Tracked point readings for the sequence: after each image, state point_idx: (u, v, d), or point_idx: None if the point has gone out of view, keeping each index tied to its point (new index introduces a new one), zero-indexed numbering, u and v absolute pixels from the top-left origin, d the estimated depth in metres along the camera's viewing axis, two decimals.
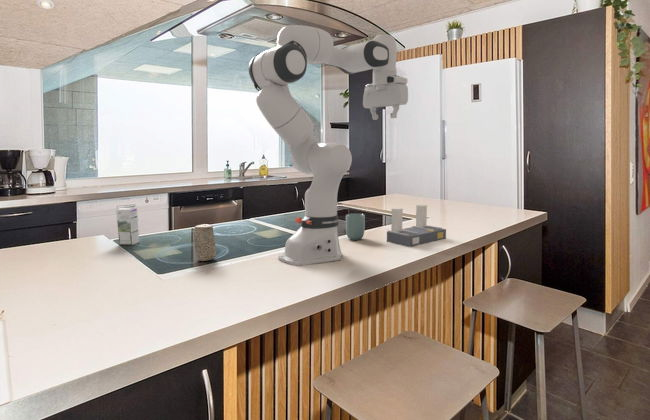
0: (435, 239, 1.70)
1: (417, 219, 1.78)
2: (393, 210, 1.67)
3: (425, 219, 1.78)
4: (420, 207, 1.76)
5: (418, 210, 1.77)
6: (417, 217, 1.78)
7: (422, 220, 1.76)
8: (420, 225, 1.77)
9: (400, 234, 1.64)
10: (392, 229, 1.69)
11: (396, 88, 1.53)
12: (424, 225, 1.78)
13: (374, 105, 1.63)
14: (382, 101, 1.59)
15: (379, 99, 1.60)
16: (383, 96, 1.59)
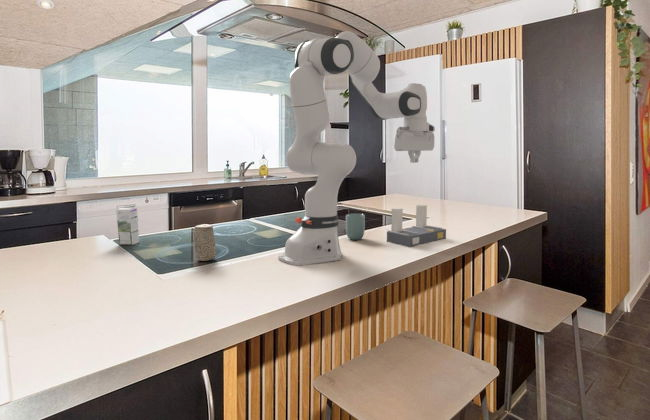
0: (435, 239, 1.70)
1: (417, 219, 1.78)
2: (393, 210, 1.67)
3: (425, 219, 1.78)
4: (420, 207, 1.76)
5: (418, 210, 1.77)
6: (417, 217, 1.78)
7: (422, 220, 1.76)
8: (420, 225, 1.77)
9: (400, 234, 1.64)
10: (392, 229, 1.69)
11: (431, 136, 1.71)
12: (424, 225, 1.78)
13: (412, 149, 1.65)
14: (419, 146, 1.67)
15: (417, 144, 1.66)
16: (420, 141, 1.67)
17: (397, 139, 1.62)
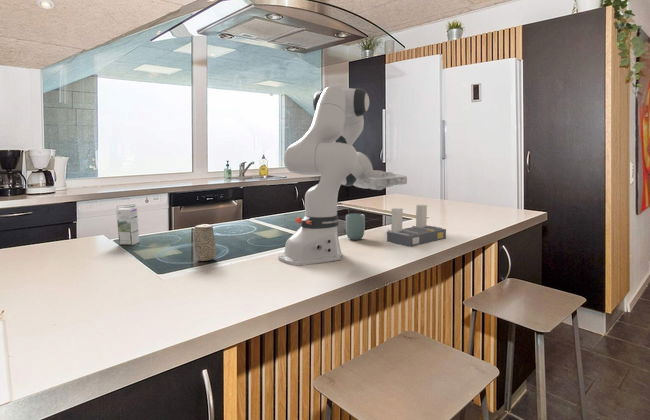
0: (435, 239, 1.70)
1: (417, 219, 1.78)
2: (393, 210, 1.67)
3: (425, 219, 1.78)
4: (420, 207, 1.76)
5: (418, 210, 1.77)
6: (417, 217, 1.78)
7: (422, 220, 1.76)
8: (420, 225, 1.77)
9: (400, 234, 1.64)
10: (392, 229, 1.69)
11: (395, 174, 1.97)
12: (424, 225, 1.78)
13: (386, 177, 1.87)
14: (391, 177, 1.90)
15: None
16: None
17: (370, 182, 1.86)
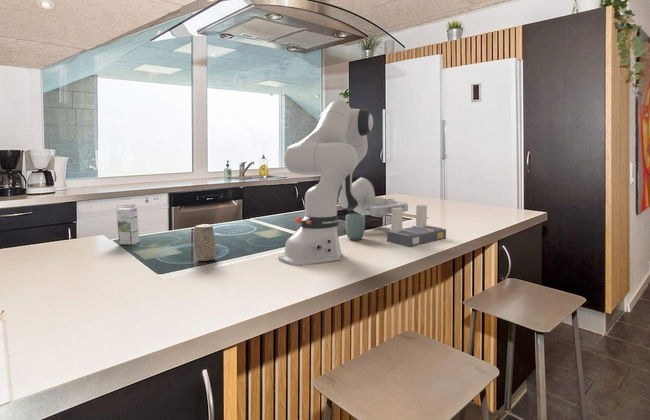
0: (435, 239, 1.70)
1: (417, 219, 1.78)
2: (393, 210, 1.67)
3: (425, 219, 1.78)
4: (420, 207, 1.76)
5: (418, 210, 1.77)
6: (417, 217, 1.78)
7: (422, 220, 1.76)
8: (420, 225, 1.77)
9: (400, 234, 1.64)
10: (392, 229, 1.69)
11: (396, 201, 1.98)
12: (424, 225, 1.78)
13: (388, 206, 1.88)
14: (392, 204, 1.91)
15: None
16: (390, 204, 1.93)
17: (371, 210, 1.87)
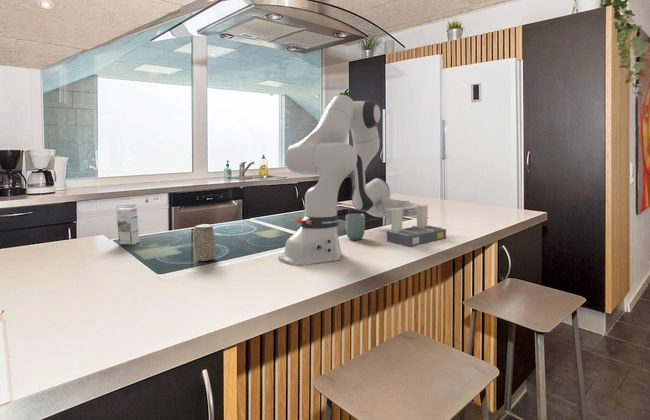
0: (435, 239, 1.70)
1: (418, 219, 1.78)
2: (393, 210, 1.67)
3: (426, 219, 1.77)
4: (421, 207, 1.76)
5: (419, 210, 1.77)
6: (418, 217, 1.77)
7: (423, 220, 1.76)
8: (421, 225, 1.76)
9: (400, 234, 1.64)
10: (392, 229, 1.69)
11: (412, 203, 1.91)
12: (425, 225, 1.77)
13: (404, 208, 1.80)
14: (408, 207, 1.84)
15: (404, 207, 1.83)
16: (406, 206, 1.85)
17: (387, 213, 1.80)
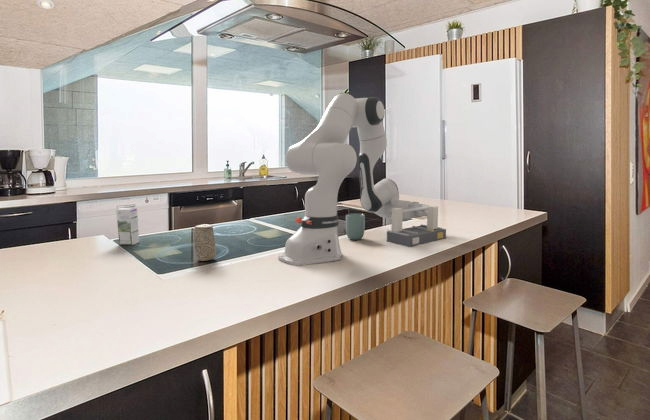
0: (435, 239, 1.70)
1: (428, 221, 1.73)
2: (393, 210, 1.67)
3: (436, 221, 1.73)
4: (431, 208, 1.72)
5: (429, 212, 1.73)
6: (428, 219, 1.73)
7: (433, 222, 1.72)
8: (432, 227, 1.72)
9: (400, 234, 1.64)
10: (392, 229, 1.69)
11: (422, 204, 1.87)
12: (435, 227, 1.73)
13: (414, 209, 1.76)
14: (418, 208, 1.80)
15: (414, 208, 1.79)
16: (415, 207, 1.81)
17: None
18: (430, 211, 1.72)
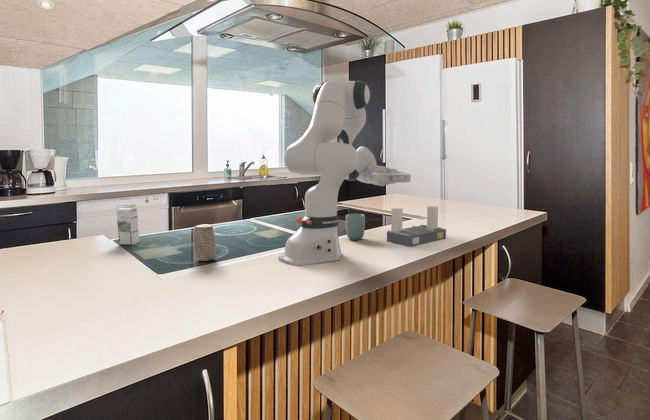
0: (435, 239, 1.70)
1: (428, 221, 1.73)
2: (393, 210, 1.67)
3: (436, 221, 1.73)
4: (431, 208, 1.72)
5: (429, 212, 1.73)
6: (428, 219, 1.73)
7: (433, 222, 1.72)
8: (432, 227, 1.72)
9: (400, 234, 1.64)
10: (392, 229, 1.69)
11: (399, 172, 1.94)
12: (435, 227, 1.73)
13: (390, 174, 1.84)
14: None
15: (391, 173, 1.87)
16: (392, 173, 1.89)
17: (372, 177, 1.83)
18: (430, 211, 1.72)
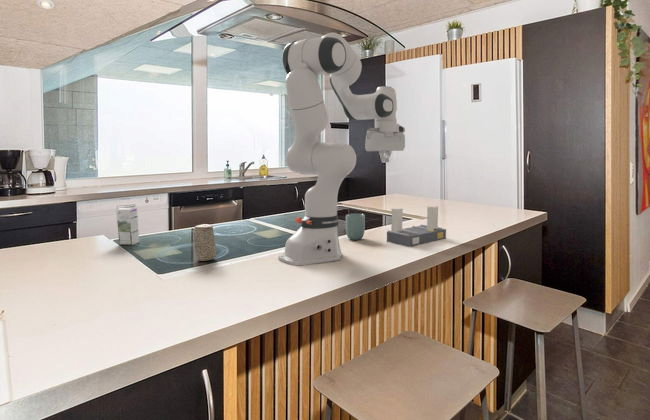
0: (435, 239, 1.70)
1: (428, 221, 1.73)
2: (393, 210, 1.67)
3: (436, 221, 1.73)
4: (431, 208, 1.72)
5: (429, 212, 1.73)
6: (428, 219, 1.73)
7: (433, 222, 1.72)
8: (432, 227, 1.72)
9: (400, 234, 1.64)
10: (392, 229, 1.69)
11: (402, 137, 1.78)
12: (435, 227, 1.73)
13: (382, 150, 1.72)
14: (389, 146, 1.74)
15: (387, 144, 1.73)
16: (390, 142, 1.74)
17: (367, 140, 1.69)
18: (430, 211, 1.72)
